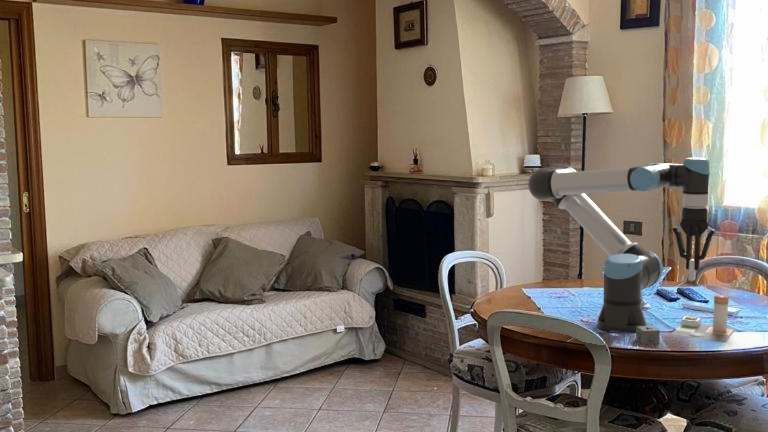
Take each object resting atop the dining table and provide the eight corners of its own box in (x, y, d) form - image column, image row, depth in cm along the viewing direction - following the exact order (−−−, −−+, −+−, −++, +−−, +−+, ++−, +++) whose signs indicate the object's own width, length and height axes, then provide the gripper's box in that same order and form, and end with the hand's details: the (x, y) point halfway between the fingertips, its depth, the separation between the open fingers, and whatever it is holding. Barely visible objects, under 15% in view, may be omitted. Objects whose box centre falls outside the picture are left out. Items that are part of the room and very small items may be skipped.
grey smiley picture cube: (642, 347, 227) (643, 331, 226) (636, 342, 232) (636, 326, 231) (659, 346, 227) (659, 330, 227) (651, 341, 232) (652, 325, 232)
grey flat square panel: (670, 336, 236) (670, 334, 236) (683, 323, 250) (683, 321, 250) (725, 345, 227) (725, 342, 227) (736, 330, 241) (736, 328, 241)
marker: (711, 331, 238) (713, 296, 236) (713, 328, 241) (715, 294, 240) (725, 333, 236) (727, 298, 234) (727, 330, 239) (729, 295, 238)
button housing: (681, 326, 245) (681, 319, 244) (684, 322, 248) (685, 316, 248) (696, 328, 242) (697, 321, 242) (700, 324, 246) (700, 318, 245)
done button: (685, 324, 245) (685, 318, 244) (687, 322, 247) (687, 316, 247) (694, 325, 243) (694, 319, 243) (696, 323, 245) (696, 317, 245)
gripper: (719, 206, 239) (716, 279, 243) (676, 204, 247) (673, 275, 250) (714, 209, 233) (711, 284, 236) (670, 207, 241) (667, 279, 244)
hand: (692, 279), depth 243 cm, fingers closed
